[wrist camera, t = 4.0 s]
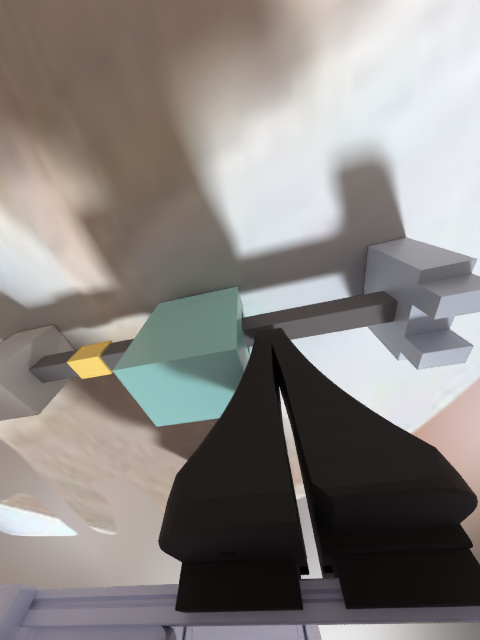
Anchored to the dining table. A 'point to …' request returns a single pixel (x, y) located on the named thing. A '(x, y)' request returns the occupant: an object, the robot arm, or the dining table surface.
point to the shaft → (292, 321)
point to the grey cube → (15, 378)
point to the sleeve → (187, 358)
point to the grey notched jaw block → (423, 300)
